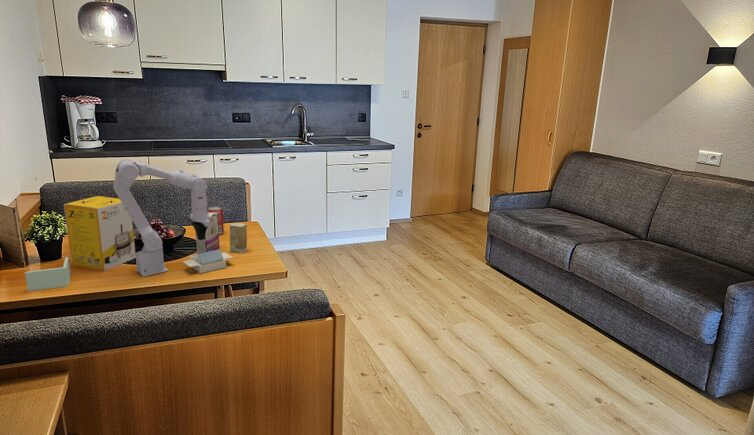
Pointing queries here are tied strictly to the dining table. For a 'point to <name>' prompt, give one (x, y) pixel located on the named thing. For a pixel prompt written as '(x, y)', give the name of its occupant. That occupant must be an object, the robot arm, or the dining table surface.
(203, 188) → the robot arm
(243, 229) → the skincare box
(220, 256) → the flap
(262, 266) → the dining table surface
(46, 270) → the l-shaped corner panel
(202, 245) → the candy bar box
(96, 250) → the packaging box
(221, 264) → the carton
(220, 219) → the soda can
